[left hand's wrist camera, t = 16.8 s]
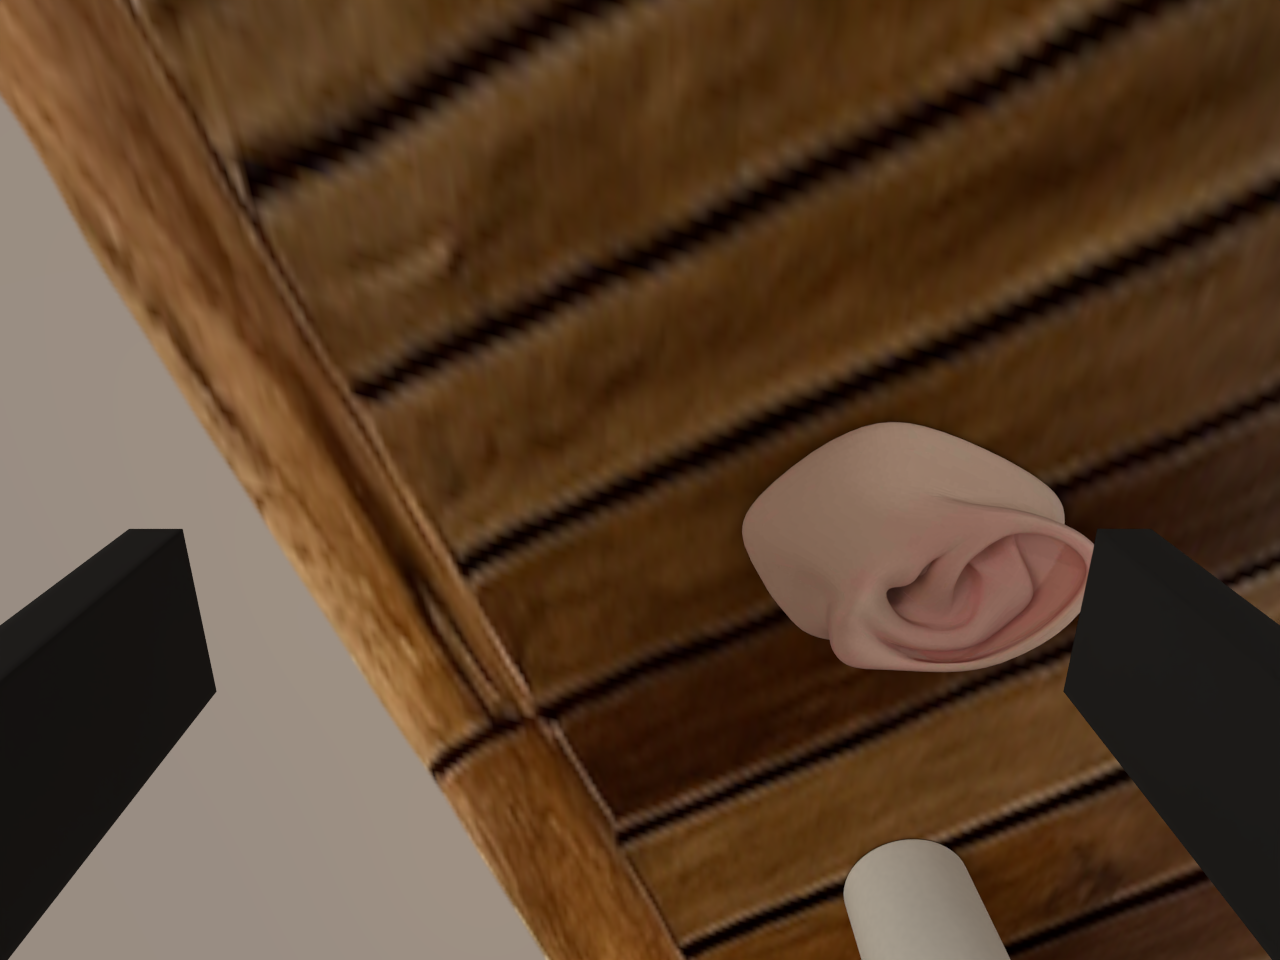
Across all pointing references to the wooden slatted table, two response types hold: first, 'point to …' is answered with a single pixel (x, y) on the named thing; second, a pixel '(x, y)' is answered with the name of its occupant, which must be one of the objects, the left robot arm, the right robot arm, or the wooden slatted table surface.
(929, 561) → the anatomical model
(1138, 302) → the wooden slatted table surface
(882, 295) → the wooden slatted table surface
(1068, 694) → the left robot arm
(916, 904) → the canister
